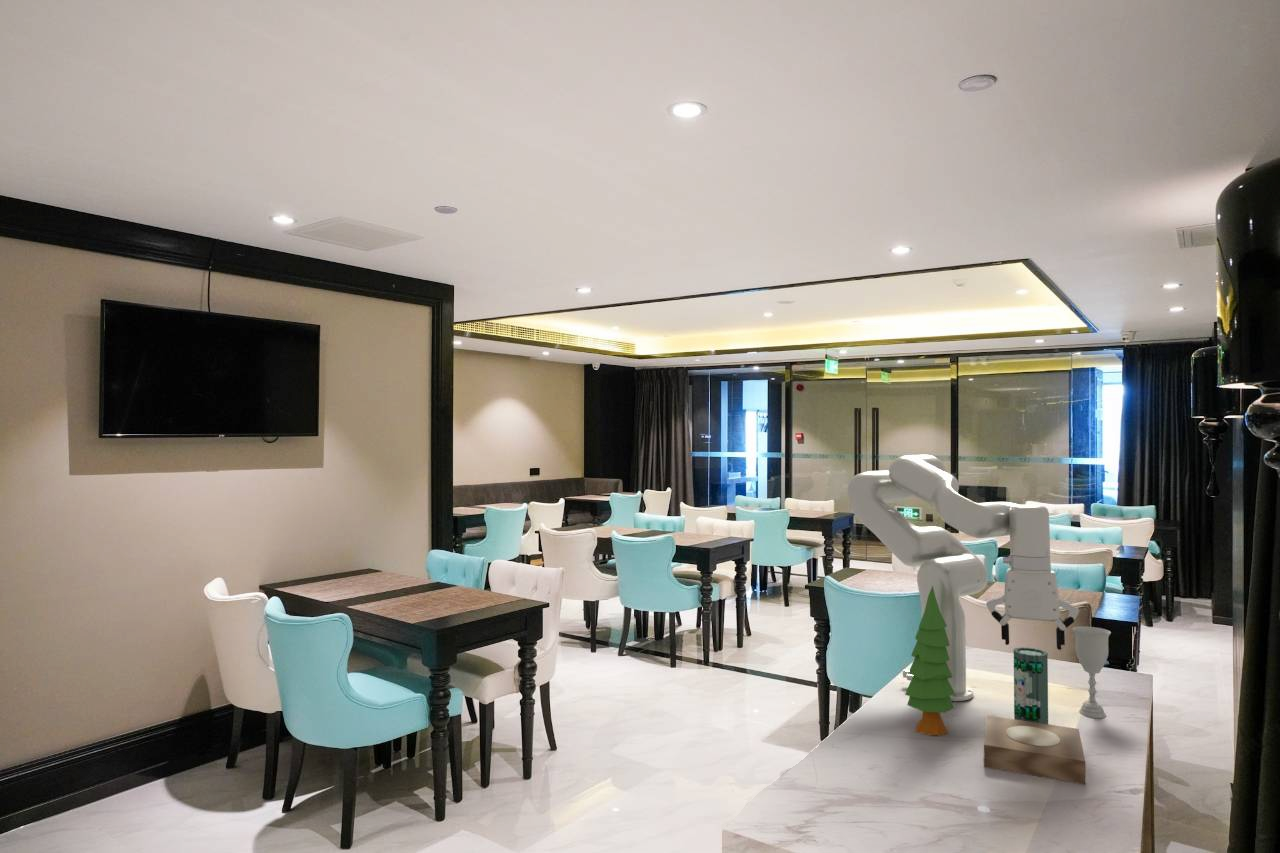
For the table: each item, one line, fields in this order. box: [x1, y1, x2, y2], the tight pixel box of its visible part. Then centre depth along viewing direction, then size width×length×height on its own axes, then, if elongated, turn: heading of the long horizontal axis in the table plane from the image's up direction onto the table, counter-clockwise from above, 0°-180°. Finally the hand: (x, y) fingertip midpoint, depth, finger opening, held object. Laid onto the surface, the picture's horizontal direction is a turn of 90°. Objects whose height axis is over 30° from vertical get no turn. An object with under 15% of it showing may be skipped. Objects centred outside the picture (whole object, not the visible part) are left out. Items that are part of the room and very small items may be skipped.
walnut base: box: [983, 714, 1087, 785], centre depth 141 cm, size 16×16×4 cm
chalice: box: [1072, 625, 1112, 719], centre depth 164 cm, size 7×7×18 cm
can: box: [1013, 647, 1049, 724], centre depth 158 cm, size 6×6×15 cm
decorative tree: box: [904, 585, 955, 737], centre depth 155 cm, size 10×9×30 cm
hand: (1032, 645), depth 158 cm, fingers open, 9 cm apart
